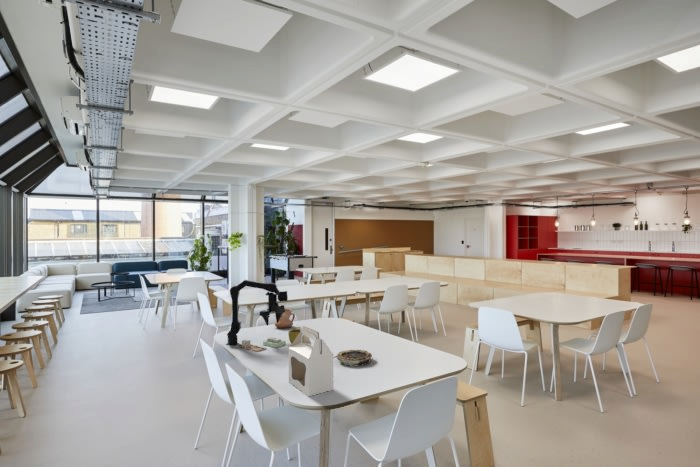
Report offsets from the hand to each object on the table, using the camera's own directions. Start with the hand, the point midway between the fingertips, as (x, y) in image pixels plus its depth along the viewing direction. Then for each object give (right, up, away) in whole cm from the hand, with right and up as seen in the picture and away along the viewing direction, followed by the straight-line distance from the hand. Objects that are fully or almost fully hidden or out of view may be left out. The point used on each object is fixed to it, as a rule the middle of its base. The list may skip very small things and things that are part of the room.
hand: (272, 324), depth 270 cm
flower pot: (+17, -13, -3) cm, 22 cm away
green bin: (+2, -13, -6) cm, 15 cm away
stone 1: (-16, -13, -10) cm, 22 cm away
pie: (+56, -13, -40) cm, 70 cm away
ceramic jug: (0, -14, +47) cm, 49 cm away
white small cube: (0, -13, -5) cm, 13 cm away
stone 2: (+4, -12, -8) cm, 15 cm away
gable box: (+34, -12, -79) cm, 87 cm away
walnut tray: (-10, -13, -14) cm, 22 cm away
